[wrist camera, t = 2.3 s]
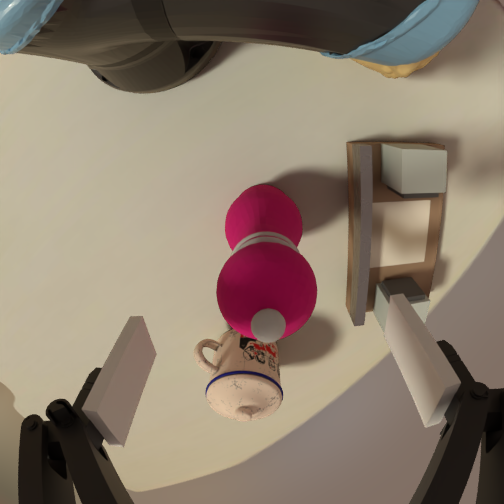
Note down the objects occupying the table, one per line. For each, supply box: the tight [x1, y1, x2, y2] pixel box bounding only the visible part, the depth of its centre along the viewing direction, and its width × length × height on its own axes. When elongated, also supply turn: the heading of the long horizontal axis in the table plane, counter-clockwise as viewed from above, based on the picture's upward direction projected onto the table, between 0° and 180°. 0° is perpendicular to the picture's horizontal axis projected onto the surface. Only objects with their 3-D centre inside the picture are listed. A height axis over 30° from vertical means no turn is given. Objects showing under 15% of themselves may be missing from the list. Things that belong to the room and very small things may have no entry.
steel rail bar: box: [350, 144, 373, 326], centre depth 30 cm, size 20×1×2 cm, turn 6°
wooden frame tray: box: [346, 142, 445, 314], centre depth 32 cm, size 20×11×2 cm, turn 6°
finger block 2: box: [373, 277, 430, 332], centre depth 32 cm, size 5×5×5 cm
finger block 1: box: [381, 144, 447, 199], centre depth 26 cm, size 5×5×5 cm
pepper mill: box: [216, 185, 317, 343], centre depth 24 cm, size 7×7×20 cm
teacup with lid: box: [194, 329, 283, 422], centre depth 35 cm, size 12×9×12 cm
